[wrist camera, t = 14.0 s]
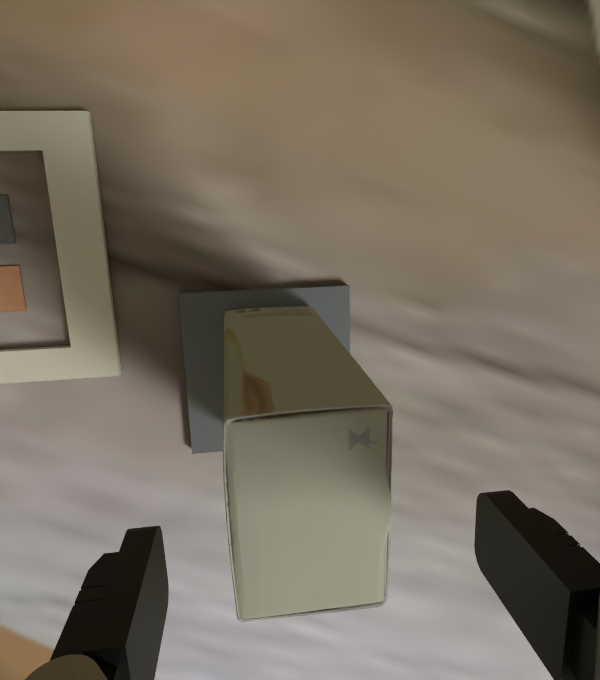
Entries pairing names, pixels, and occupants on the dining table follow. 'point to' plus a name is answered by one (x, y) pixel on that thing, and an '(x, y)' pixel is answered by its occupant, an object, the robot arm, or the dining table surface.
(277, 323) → the skincare box
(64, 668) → the robot arm
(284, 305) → the tile
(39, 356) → the flat square frame
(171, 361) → the dining table surface
